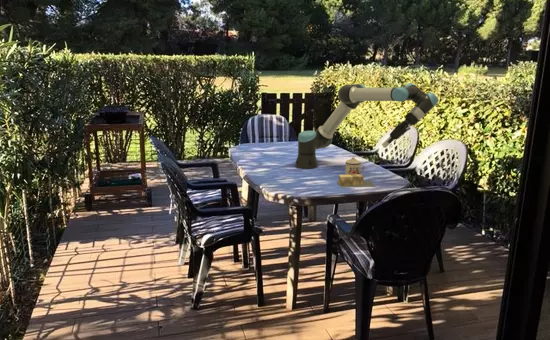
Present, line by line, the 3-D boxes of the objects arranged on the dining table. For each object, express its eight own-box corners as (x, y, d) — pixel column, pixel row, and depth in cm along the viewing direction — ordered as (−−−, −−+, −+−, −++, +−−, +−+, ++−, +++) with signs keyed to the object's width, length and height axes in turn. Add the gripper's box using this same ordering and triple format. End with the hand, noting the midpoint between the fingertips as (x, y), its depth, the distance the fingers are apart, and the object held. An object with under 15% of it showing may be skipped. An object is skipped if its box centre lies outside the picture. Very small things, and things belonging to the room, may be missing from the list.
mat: (369, 181, 258) (369, 180, 258) (376, 187, 246) (376, 186, 246) (336, 182, 256) (336, 181, 256) (341, 188, 244) (341, 187, 244)
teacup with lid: (347, 178, 266) (348, 159, 263) (343, 174, 275) (343, 156, 272) (366, 177, 268) (367, 158, 265) (361, 174, 276) (362, 155, 274)
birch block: (361, 174, 253) (338, 174, 251) (363, 176, 248) (341, 177, 246) (360, 182, 254) (338, 183, 252) (363, 185, 249) (340, 185, 248)
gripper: (423, 122, 240) (391, 153, 242) (413, 119, 252) (383, 148, 255) (414, 112, 238) (382, 143, 240) (405, 110, 251) (375, 139, 253)
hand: (383, 146), depth 248 cm, fingers closed
